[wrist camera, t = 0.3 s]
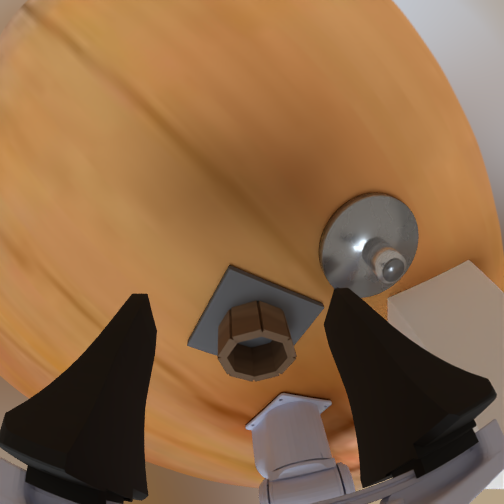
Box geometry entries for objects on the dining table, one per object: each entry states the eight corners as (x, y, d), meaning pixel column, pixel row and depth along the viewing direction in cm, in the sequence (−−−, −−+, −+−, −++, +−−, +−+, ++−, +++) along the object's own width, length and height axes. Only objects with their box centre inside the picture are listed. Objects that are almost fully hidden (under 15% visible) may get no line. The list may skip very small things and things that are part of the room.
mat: (271, 366, 27) (271, 371, 26) (187, 341, 24) (187, 345, 24) (322, 303, 24) (324, 307, 23) (229, 264, 21) (229, 268, 21)
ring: (266, 357, 25) (270, 385, 22) (209, 340, 24) (208, 369, 21) (299, 315, 23) (309, 343, 20) (238, 292, 22) (241, 321, 19)
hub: (373, 303, 24) (392, 331, 21) (297, 268, 22) (311, 300, 18) (427, 225, 21) (456, 245, 17) (359, 171, 19) (388, 184, 15)
